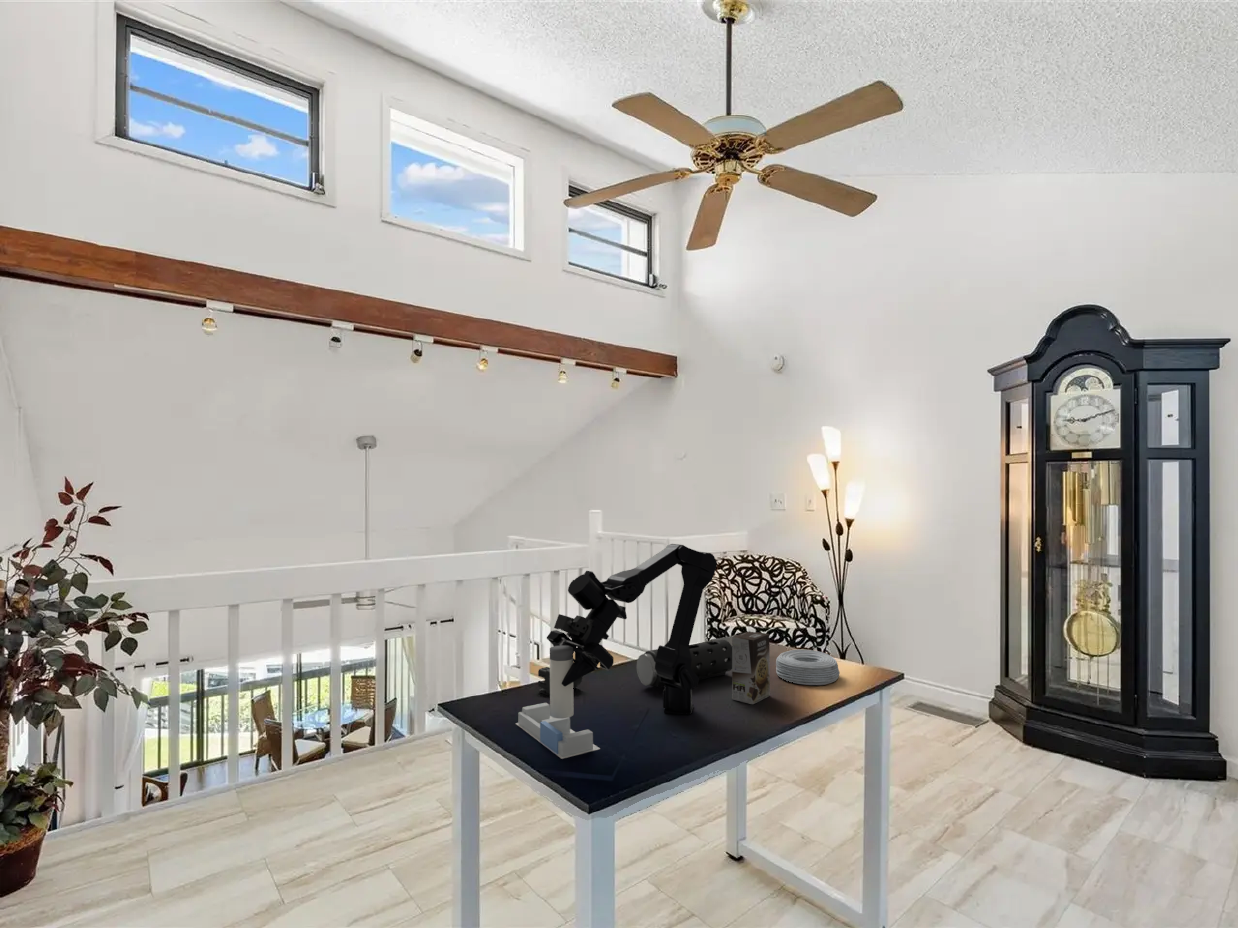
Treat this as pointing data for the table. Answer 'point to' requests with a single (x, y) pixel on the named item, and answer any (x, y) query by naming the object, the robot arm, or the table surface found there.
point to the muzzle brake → (699, 659)
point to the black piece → (546, 685)
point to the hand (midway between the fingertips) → (556, 682)
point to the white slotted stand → (555, 731)
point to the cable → (807, 667)
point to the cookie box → (750, 667)
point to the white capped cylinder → (560, 682)
